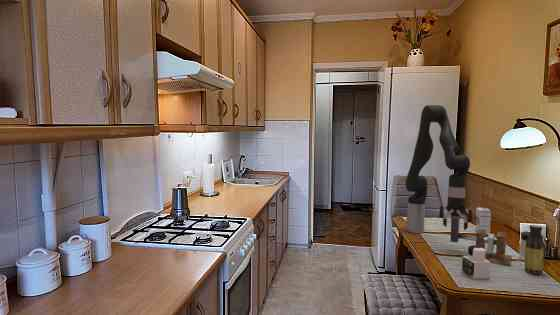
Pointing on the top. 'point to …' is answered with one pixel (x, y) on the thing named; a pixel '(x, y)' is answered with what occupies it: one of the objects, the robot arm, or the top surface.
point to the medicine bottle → (476, 263)
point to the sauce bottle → (534, 251)
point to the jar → (524, 244)
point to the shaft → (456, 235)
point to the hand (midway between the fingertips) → (455, 227)
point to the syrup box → (483, 219)
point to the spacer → (490, 243)
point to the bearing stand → (500, 248)
